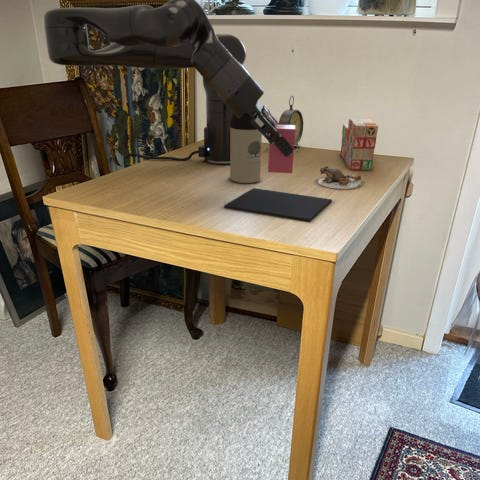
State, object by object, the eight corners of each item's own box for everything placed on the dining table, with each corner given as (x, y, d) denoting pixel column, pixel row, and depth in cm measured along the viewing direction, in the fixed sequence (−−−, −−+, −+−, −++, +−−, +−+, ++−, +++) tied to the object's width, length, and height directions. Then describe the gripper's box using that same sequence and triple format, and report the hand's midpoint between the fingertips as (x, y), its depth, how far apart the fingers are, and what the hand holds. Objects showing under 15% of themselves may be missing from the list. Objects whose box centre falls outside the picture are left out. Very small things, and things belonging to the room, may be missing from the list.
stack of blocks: (339, 154, 161) (344, 113, 155) (359, 154, 161) (364, 114, 155) (350, 170, 143) (355, 124, 136) (371, 170, 143) (378, 125, 136)
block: (268, 172, 107) (270, 128, 103) (269, 166, 112) (271, 124, 107) (292, 173, 107) (295, 129, 102) (292, 167, 111) (295, 125, 107)
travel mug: (225, 177, 133) (225, 105, 124) (252, 175, 136) (254, 104, 127) (237, 185, 127) (238, 109, 118) (265, 182, 130) (268, 108, 121)
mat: (224, 207, 110) (224, 205, 110) (253, 190, 123) (253, 187, 123) (309, 222, 103) (309, 219, 103) (331, 201, 116) (331, 199, 115)
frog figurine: (312, 186, 127) (313, 171, 125) (322, 175, 137) (323, 161, 135) (357, 191, 124) (359, 176, 122) (364, 180, 133) (366, 165, 131)
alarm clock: (288, 151, 164) (291, 97, 156) (274, 149, 166) (276, 96, 158) (302, 145, 172) (306, 94, 164) (289, 143, 175) (292, 93, 166)
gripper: (227, 97, 110) (278, 155, 115) (218, 105, 97) (276, 170, 102) (251, 71, 106) (303, 132, 112) (246, 76, 94) (304, 145, 99)
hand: (290, 150), depth 107 cm, fingers closed on block, 5 cm apart
